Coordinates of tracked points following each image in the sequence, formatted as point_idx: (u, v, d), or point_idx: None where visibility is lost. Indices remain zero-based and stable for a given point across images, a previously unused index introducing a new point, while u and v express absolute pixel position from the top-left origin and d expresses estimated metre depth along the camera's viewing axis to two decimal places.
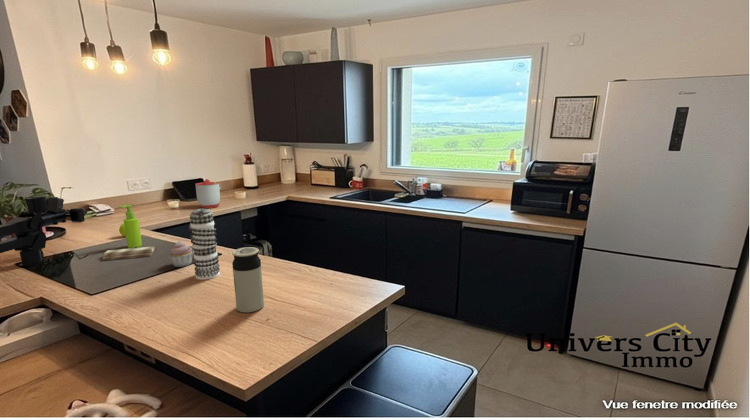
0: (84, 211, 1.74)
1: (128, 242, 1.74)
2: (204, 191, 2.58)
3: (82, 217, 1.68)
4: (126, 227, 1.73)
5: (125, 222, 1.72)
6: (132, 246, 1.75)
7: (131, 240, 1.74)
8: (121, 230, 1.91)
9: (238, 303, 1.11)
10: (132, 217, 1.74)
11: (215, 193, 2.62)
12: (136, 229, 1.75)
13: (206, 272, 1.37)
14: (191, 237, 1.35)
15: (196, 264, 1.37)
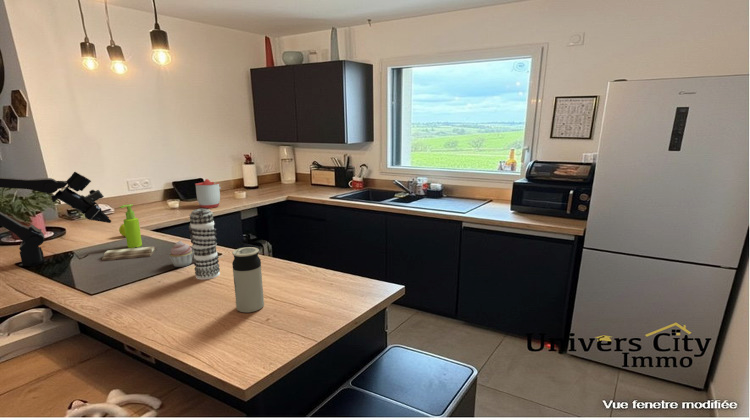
0: (106, 218, 1.64)
1: (128, 242, 1.74)
2: (204, 191, 2.58)
3: (91, 215, 1.58)
4: (126, 227, 1.73)
5: (125, 222, 1.72)
6: (132, 246, 1.75)
7: (131, 240, 1.74)
8: (121, 230, 1.91)
9: (238, 303, 1.11)
10: (132, 217, 1.74)
11: (215, 193, 2.62)
12: (136, 229, 1.75)
13: (206, 272, 1.37)
14: (191, 237, 1.35)
15: (196, 264, 1.37)
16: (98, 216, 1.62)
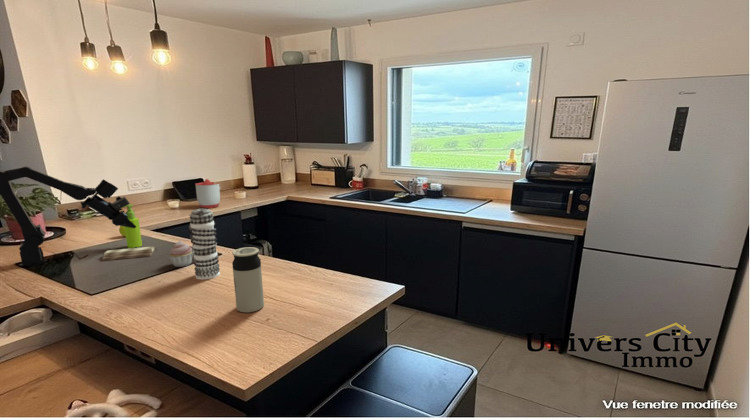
0: (131, 223, 1.72)
1: (128, 242, 1.74)
2: (204, 191, 2.58)
3: (118, 221, 1.64)
4: (126, 227, 1.73)
5: None
6: (132, 246, 1.75)
7: (131, 240, 1.74)
8: (121, 230, 1.91)
9: (238, 303, 1.11)
10: (132, 217, 1.74)
11: (215, 193, 2.62)
12: (136, 229, 1.75)
13: (206, 272, 1.37)
14: (191, 237, 1.35)
15: (196, 264, 1.37)
16: (124, 222, 1.70)
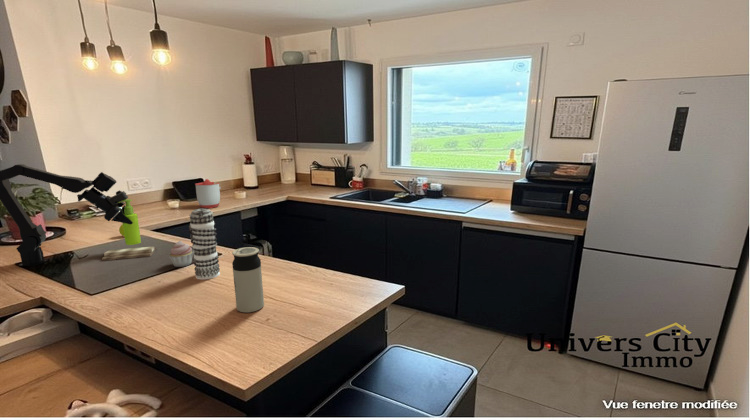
0: (127, 219, 1.64)
1: (125, 238, 1.67)
2: (204, 191, 2.58)
3: (110, 216, 1.56)
4: (123, 223, 1.66)
5: None
6: (129, 243, 1.67)
7: (128, 237, 1.67)
8: (121, 230, 1.91)
9: (238, 303, 1.11)
10: (130, 213, 1.66)
11: (215, 193, 2.62)
12: (133, 225, 1.67)
13: (206, 272, 1.37)
14: (191, 237, 1.35)
15: (196, 264, 1.37)
16: (119, 217, 1.62)
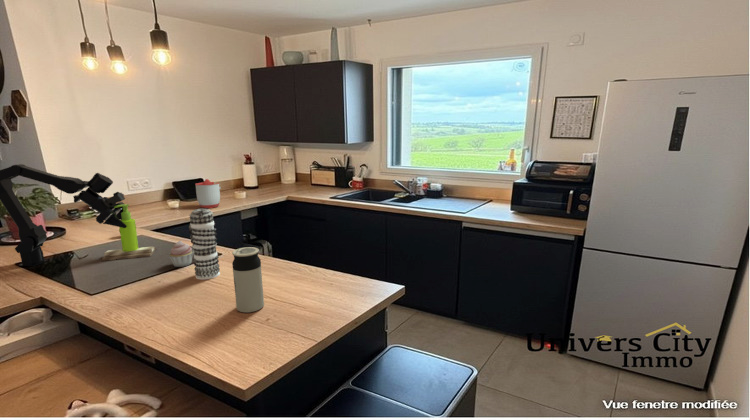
0: (120, 223, 1.57)
1: (122, 244, 1.62)
2: (204, 191, 2.58)
3: (101, 219, 1.51)
4: (120, 228, 1.60)
5: None
6: (125, 249, 1.62)
7: (123, 243, 1.61)
8: None
9: (238, 303, 1.11)
10: (126, 218, 1.60)
11: (215, 193, 2.62)
12: (129, 232, 1.61)
13: (206, 272, 1.37)
14: (191, 237, 1.35)
15: (196, 264, 1.37)
16: (112, 220, 1.55)
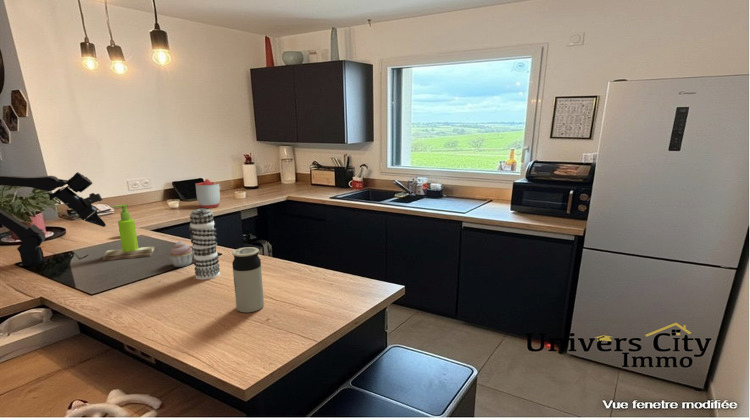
0: (101, 221, 1.60)
1: (122, 245, 1.62)
2: (204, 191, 2.58)
3: (85, 215, 1.54)
4: (119, 229, 1.60)
5: (118, 223, 1.60)
6: (125, 250, 1.62)
7: (123, 243, 1.61)
8: None
9: (238, 303, 1.11)
10: (125, 218, 1.60)
11: (215, 193, 2.62)
12: (129, 232, 1.61)
13: (206, 272, 1.37)
14: (191, 237, 1.35)
15: (196, 264, 1.37)
16: (93, 218, 1.58)
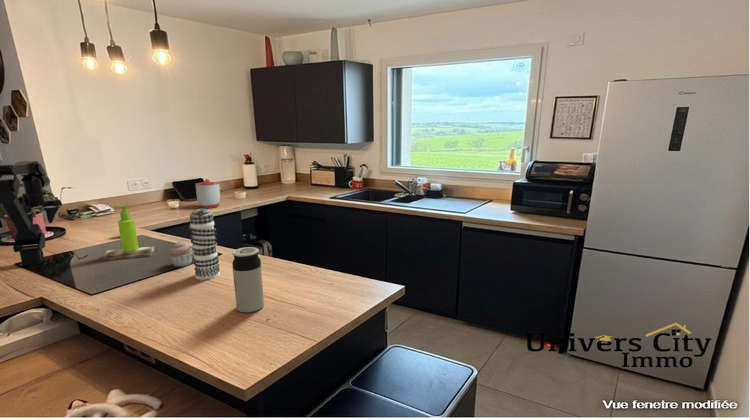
0: None
1: (122, 245, 1.62)
2: (204, 191, 2.58)
3: None
4: (119, 229, 1.60)
5: (118, 223, 1.60)
6: (125, 250, 1.62)
7: (123, 243, 1.61)
8: None
9: (238, 303, 1.11)
10: (125, 218, 1.60)
11: (215, 193, 2.62)
12: (129, 232, 1.61)
13: (206, 272, 1.37)
14: (191, 237, 1.35)
15: (196, 264, 1.37)
16: None
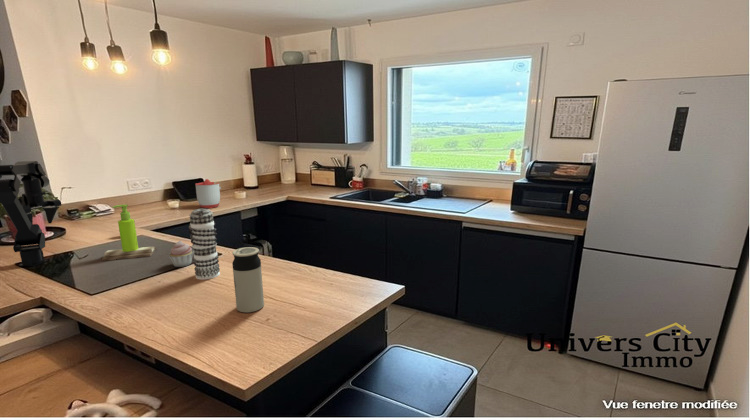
0: None
1: (122, 245, 1.62)
2: (204, 191, 2.58)
3: None
4: (119, 229, 1.60)
5: (118, 223, 1.60)
6: (125, 250, 1.62)
7: (123, 243, 1.61)
8: None
9: (238, 303, 1.11)
10: (125, 218, 1.60)
11: (215, 193, 2.62)
12: (129, 232, 1.61)
13: (206, 272, 1.37)
14: (191, 237, 1.35)
15: (196, 264, 1.37)
16: None
